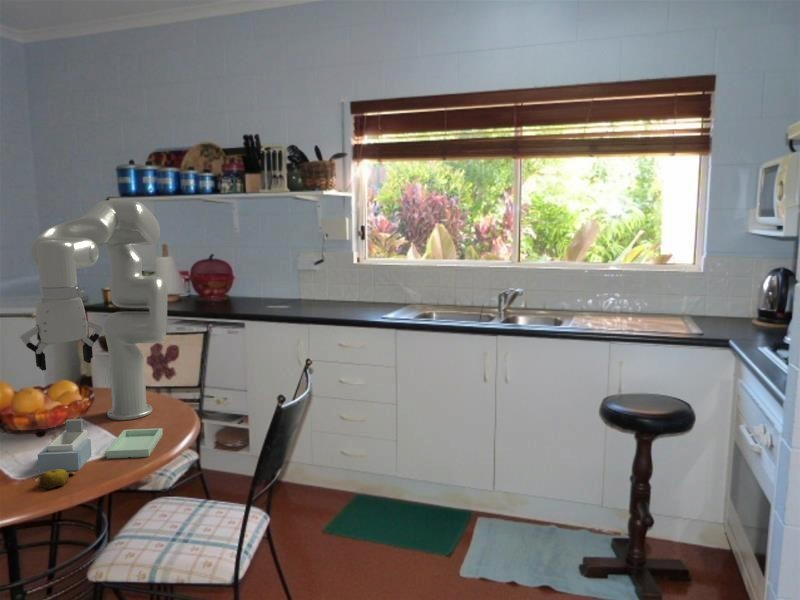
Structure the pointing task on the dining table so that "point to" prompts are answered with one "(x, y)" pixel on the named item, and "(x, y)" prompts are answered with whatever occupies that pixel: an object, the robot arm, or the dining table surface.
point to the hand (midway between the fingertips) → (65, 365)
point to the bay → (65, 458)
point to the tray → (135, 443)
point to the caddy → (69, 437)
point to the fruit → (54, 478)
